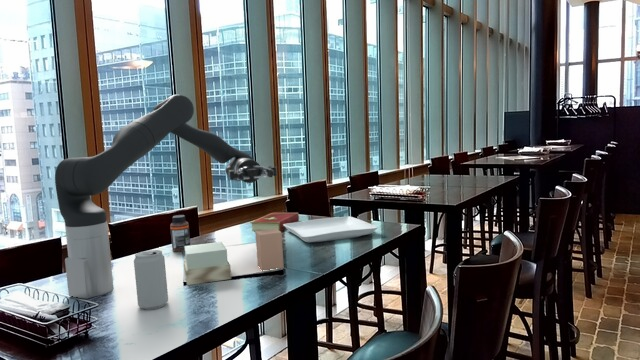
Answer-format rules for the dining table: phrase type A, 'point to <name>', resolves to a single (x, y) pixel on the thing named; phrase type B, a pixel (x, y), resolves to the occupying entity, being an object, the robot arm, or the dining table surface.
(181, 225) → the supplement bottle
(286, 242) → the dining table surface
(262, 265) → the terracotta pillar block
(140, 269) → the beverage can
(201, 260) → the sage top block
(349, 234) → the square plate
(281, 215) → the hardcover book
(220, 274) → the birch base block
